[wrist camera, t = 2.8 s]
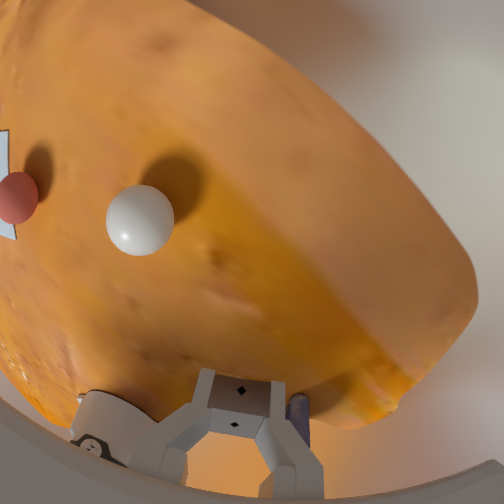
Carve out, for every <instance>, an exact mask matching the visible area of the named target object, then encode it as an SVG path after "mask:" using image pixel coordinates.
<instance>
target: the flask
mask: <svg viewBox="0 0 504 504" xmlns="http://www.w3.org/2000/svg"><path fill="white" fill-rule="evenodd" d="M303 395H304V396H303ZM303 395H302V394H297V393H296V394H295V395H294V396H292V397H291V398H290V399H289V401H290V403H289V404H288V406H287V407H286V413H285V420H289V421H290V422H291V423H292V425H293V426H294V428H295V429H296V430H297V432H298V433H299V435H300V436H301V437H302V439H303V440H304V442H305V443H306V444H307V446H308V447H309V448H310V431H309V398H308V396H307V395H306V394H303Z"/></svg>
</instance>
